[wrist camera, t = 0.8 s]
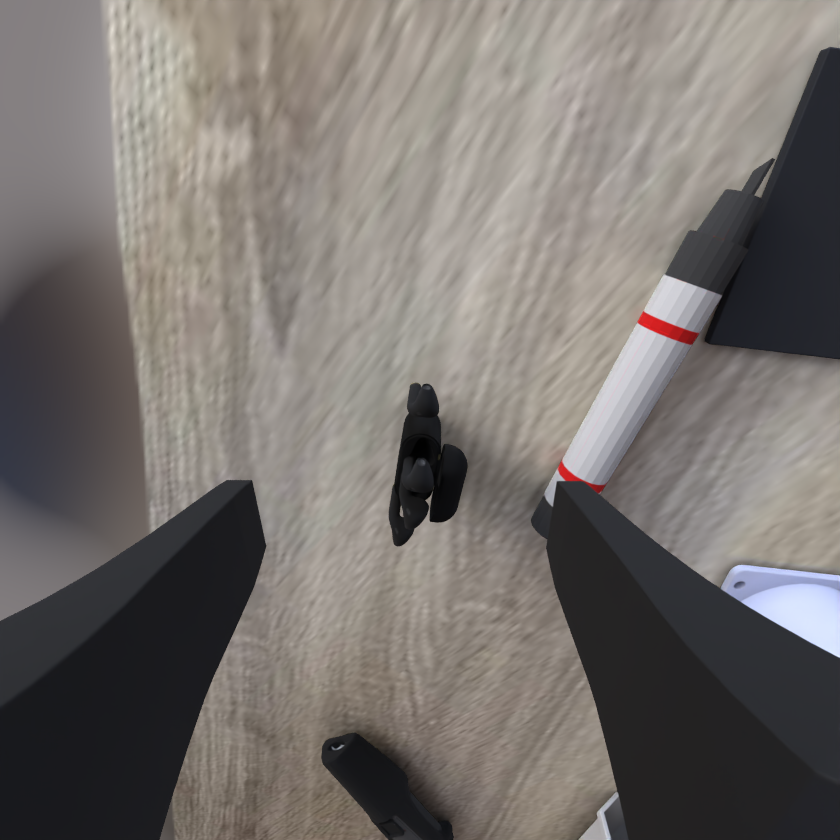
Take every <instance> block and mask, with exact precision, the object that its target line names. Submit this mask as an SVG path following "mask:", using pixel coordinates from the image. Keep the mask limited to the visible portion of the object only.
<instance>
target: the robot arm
mask: <svg viewBox="0 0 840 840" xmlns="http://www.w3.org/2000/svg"><path fill="white" fill-rule="evenodd" d="M265 549H266V543H265V539H264V534H263V529H262V525H261V520H260V515H259V510H258V506H257V501H256V496H255V492H254V487H253V482H252V480H226V481H225V482H223V483H222V484H220V485H218V486H217V487H215V488H214V489H212V490H211V491H210V492H208V493H207V494H205V495H204V496H203V497H201V498H200V499H198V500H197V501H196V502H194V503H193V504H191V505H190V506H189V507H187V508H186V509H185V510H183V511H182V512H180V513H179V514H178V515H176V516H175V517H173V518H172V519H170V520H169V521H168V522H166V523H165V524H163V525H162V526H161V527H159V528H158V529H156V530H155V531H154V532H152V533H151V534H149V535H148V536H146V537H145V538H143V539H142V540H140V541H139V542H137V543H136V544H134V545H133V546H131V547H130V548H128V549H126V550H125V551H123V552H122V553H120V554H119V555H117V556H116V557H114V558H113V559H111V560H110V561H108V562H107V563H105V564H104V565H102V566H101V567H99V568H97V569H95V570H94V571H92V572H90V573H89V574H87V575H86V576H84V577H82V578H80V579H79V580H77V581H75V582H73V583H72V584H70V585H68V586H66V587H65V588H63V589H61V590H59V591H57V592H56V593H54V594H52V595H50V596H49V597H47V598H45V599H43V600H41V601H39V602H37V603H35V604H33V605H32V606H29V607H27V608H25V609H24V610H22V611H19V612H18V613H15V614H14V615H11V616H9V617H7V618H6V619H4V620H1V621H0V840H159V839H160V836H161V832H162V829H163V825H164V822H165V818H166V815H167V812H168V809H169V805H170V802H171V799H172V796H173V792H174V789H175V786H176V783H177V780H178V777H179V774H180V770H181V767H182V764H183V761H184V758H185V755H186V752H187V748H188V746H189V743H190V740H191V737H192V734H193V731H194V728H195V725H196V722H197V719H198V716H199V713H200V711H201V708H202V705H203V702H204V699H205V697H206V694H207V692H208V689H209V687H210V684H211V682H212V679H213V677H214V675H215V672H216V670H217V668H218V666H219V664H220V661H221V659H222V657H223V655H224V653H225V650H226V648H227V646H228V644H229V642H230V639H231V637H232V635H233V633H234V631H235V628H236V626H237V624H238V622H239V620H240V617H241V615H242V613H243V611H244V608H245V606H246V604H247V602H248V599H249V597H250V595H251V592H252V590H253V588H254V585H255V582H256V579H257V576H258V573H259V570H260V566H261V563H262V559H263V556H264V552H265ZM546 549H547V554H548V558H549V563H550V568H551V572H552V577H553V581H554V585H555V589H556V592H557V595H558V597H559V600H560V603H561V606H562V609H563V612H564V614H565V617H566V620H567V623H568V626H569V628H570V631H571V634H572V637H573V639H574V642H575V645H576V648H577V651H578V653H579V656H580V659H581V662H582V664H583V667H584V670H585V673H586V675H587V678H588V681H589V684H590V687H591V691H592V694H593V697H594V700H595V703H596V707H597V711H598V715H599V719H600V723H601V726H602V730H603V734H604V738H605V742H606V746H607V750H608V754H609V758H610V762H611V766H612V770H613V775H614V779H615V783H616V787H617V791H618V795H619V800H620V804H621V808H622V812H623V817H624V821H625V826H626V830H627V835H628V839H629V840H840V576H839V575H830V574H821V573H812V572H803V571H794V570H785V569H776V568H767V567H758V566H749V565H738V566H735V567H733V568H732V569H731V570H730V572H729V573H728V575H727V577H726V579H725V581H724V582H723V584H722V586H721V588H719V587H717V586H716V585H714V584H713V583H711V582H710V581H708V580H707V579H705V578H704V577H702V576H701V575H699V574H698V573H697V572H695V571H694V570H692V569H691V568H690V567H688V566H687V565H686V564H684V563H683V562H682V561H680V560H679V559H677V558H676V557H675V556H673V555H672V554H671V553H669V552H668V551H667V550H665V549H664V548H663V547H662V546H660V545H659V544H658V543H657V542H655V541H654V540H653V539H651V538H650V537H649V536H648V535H646V534H645V533H644V532H643V531H642V530H640V529H639V528H638V527H637V526H636V525H634V524H633V523H632V522H631V521H630V520H628V519H627V518H626V517H625V516H624V515H622V514H621V513H620V512H619V511H618V510H617V509H616V508H614V507H613V506H612V505H611V504H610V503H609V502H607V501H606V500H605V499H604V498H603V497H602V496H600V495H599V494H598V493H597V492H596V491H595V490H593V489H592V488H591V487H590V486H589V485H587V484H586V483H585V482H584V481H557V483H556V489H555V495H554V502H553V508H552V514H551V521H550V527H549V533H548V540H547V546H546Z"/></svg>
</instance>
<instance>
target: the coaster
mask: <svg viewBox="0 0 840 840" xmlns="http://www.w3.org/2000/svg"><path fill="white" fill-rule="evenodd" d="M761 199H763V201H764V202H763V204H762V206H761V208H760V210H759V212H758V214H757V216H756V218H755V221H754V223H753V225H752V227H751V229H750V231H749V233H748V235H747V237H746V239H745V242H744V244H743V247H745V248H747V249H748V250H749V251H748V252H747V254H746V256H745V257H744V259H743V261H742V262H741V264H740V265H739V267H738V269H737V270H736V272H735V274H734V275H733V277H732V278H731V280H730V282H729V283H728V285H727V287H726V288H725V290H724V293H723V295H722V298H721V300H720V303H719V305H718V308H717V310H716V313H715V315H714V318H713V320H712V323H711V325H710V328H709V330H708V333H707V335H706V338H705V342H707V343H709V344H715V345H724V346H732V347H741V348H749V349H758V350H766V351H775V352H783V353H791V354H800V355H808V356H817V357H825V358H834V359H840V48H834V47H829V48H827V49H824V50H821V51H820V53H819V56H818V58H817V61H816V63H815V66H814V68H813V71H812V73H811V76H810V78H809V81H808V83H807V86H806V88H805V91H804V93H803V96H802V98H801V101H800V103H799V106H798V108H797V111H796V113H795V116H794V118H793V121H792V123H791V126H790V128H789V131H788V133H787V136H786V138H785V141H784V143H783V146H782V148H781V150H780V153H779V155H778V158H777V160H776V163H775V165H774V168H773V170H772V173H771V175H770V178H769V180H768V183H767V185H766V188H765V190H764V193H763V195H762V198H761Z"/></svg>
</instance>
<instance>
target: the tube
mask: <svg viewBox="0 0 840 840" xmlns="http://www.w3.org/2000/svg"><path fill="white" fill-rule="evenodd" d="M597 817H598V818H597V820H596V821H595V822H594V823H593V824H592V825H591V826H590V827H589V829H588V830H587V831H586V832H585V833H584V834H583V835H582V836H581V837H580V839H579V840H629V839H628V835H627V830H626V826H625V821H624V817H623V812H622V808H621V804H620V800H619V795H618V792H615V793H614V795H613V796H612V797H611V798H610V799H609V800H608V801H607V802H606V803H605V804H604V805H603V806H602V807H601V808H600V810H599V811H598V812H597Z"/></svg>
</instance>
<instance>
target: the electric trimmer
mask: <svg viewBox="0 0 840 840" xmlns="http://www.w3.org/2000/svg"><path fill="white" fill-rule="evenodd" d="M321 758H322V762H323V765H324V766H325V767H326V768H327V769H328V770H329V771H330V772H331V774H332V775H333V776H334V777H335V778H336V779H337V780H338V781H339V782H340V784H341V785H342V786H343V787H344V788H345V789H346V790H347V791H348V792H349V794H350V795H351V796H352V797H353V798H354V799H355V800H356V801H357V803H358V804H359V805H360V806H361V807H362V808H363V809H364V811H365V812H366V813H367V814H368V815H369V817H370V819H371V821H372V822H373V823H374V824H375V825H376V826H377V827H378V829H379V830H380V831H381V832H382V833H383V834H384V835H385V836H386V838H387V839H388V840H453V838H454V836H453V832H452V825H451V824H450V823H449V822H448V821H441V822H437V821H436V820H435V819H434V818H433V816H432V815H431V814H430V813H429V812H428V811H427V810H426V809H425V808H424V807H423V805H422V804H421V803H420V802H419V801H418V800H417V799H416V798H415V797H414V795H413V794H412V793H411V792H410V791H409V786H408V778H407V776H406V774H405V772H404V771H402V770H401V769H400V768H399V767H398V766H397V765H396V764H394V763H393V762H392V761H391V760H390V759H389V758H387V757H386V756H385V755H384V754H382V753H381V752H380V751H379V750H377V749H376V748H375V747H374V746H373V745H371V744H370V743H369V742H368V741H366V740H365V739H364V738H363V737H361V736H360V735H359V734H357V733H351V734H347V735H343V736H339V737H335V738H330V739H328V740H327V741H325V743H324V744H323V746H322V757H321Z"/></svg>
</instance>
